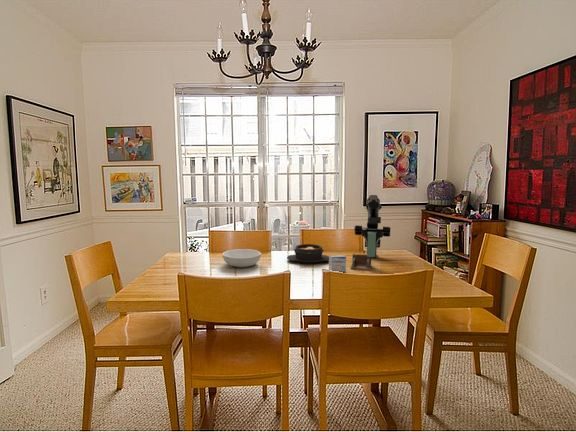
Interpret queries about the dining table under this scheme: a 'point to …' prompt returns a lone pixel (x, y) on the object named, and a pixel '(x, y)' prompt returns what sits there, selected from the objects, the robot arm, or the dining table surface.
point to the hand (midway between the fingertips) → (371, 244)
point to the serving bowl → (241, 257)
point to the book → (371, 244)
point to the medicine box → (337, 263)
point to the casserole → (308, 254)
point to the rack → (361, 262)
